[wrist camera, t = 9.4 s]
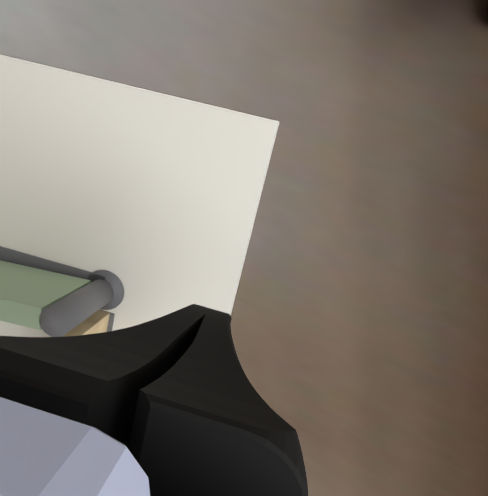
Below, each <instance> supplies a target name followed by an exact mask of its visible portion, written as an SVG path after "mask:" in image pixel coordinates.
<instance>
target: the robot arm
mask: <svg viewBox="0 0 488 496" xmlns="http://www.w3.org/2000/svg"><path fill="white" fill-rule="evenodd" d="M230 322H231V316H230V314H228V313H225V312H221V311H218V310H214V309H211V308H207V307H204V306H200V305H197V304H192V305H189V306H187V307H184V308H182V309H180V310H177V311H175V312H172V313H170V314H167V315H165V316H162V317H160V318H157V319H154V320H151V321H148V322H145V323H142V324H139V325H135V326H132V327H128V328H124V329H119V330H114V331H109V332H103V333H95V334H87V335H79V336H65V337H16V336H0V496H308V487H307V478H306V472H305V466H304V461H303V456H302V451H301V447H300V443H299V439H298V435H297V432H296V430H295V429H294V428H293V427H292V426H290V425H289V424H288V423H287V422H286V421H285V420H283V419H282V418H281V417H280V416H279V415H278V414H276V413H275V412H274V411H273V410H272V409H271V408H270V407H269V406H268V405H267V403H266V402H265V401H264V400H263V399H262V398H261V397H260V395H259V394H258V393H257V392H256V390H255V389H254V388H253V386H252V385H251V383H250V382H249V380H248V379H247V377H246V375H245V373H244V371H243V369H242V367H241V365H240V362H239V360H238V357H237V354H236V351H235V348H234V344H233V340H232V335H231V328H230Z"/></svg>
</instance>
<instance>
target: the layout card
mask: <svg viewBox="0 0 488 496" xmlns="http://www.w3.org/2000/svg"><path fill="white" fill-rule="evenodd" d="M278 126H279V121H275V120H271V119H266V118H262V117H258V116H254V115H250V114H246V113H241V112H237V111H233V110H229V109H225V108H221V107H216V106H212V105H208V104H204V103H200V102H196V101H191V100H187V99H183V98H179V97H175V96H171V95H167V94H162V93H158V92H154V91H150V90H146V89H142V88H137V87H133V86H129V85H125V84H121V83H117V82H112V81H108V80H104V79H100V78H96V77H92V76H87V75H83V74H79V73H75V72H71V71H67V70H62V69H58V68H54V67H50V66H46V65H42V64H37V63H33V62H29V61H25V60H21V59H17V58H12V57H8V56H4V55H0V260H1V261H6V262H10V263H15V264H19V265H24V266H28V267H33V268H37V269H42V270H46V271H51V272H55V273H60V274H64V275H69V276H73V277H78V278H82V279H87V280H91V282H93V281H95V280H99V279H100V280H104V281H106V282H108V283H109V284H110V285H111V287H112V289H113V293H114V295H113V298H112V300H111V301H110V302H109V303H108V304H106V305H105V306H104V307H102V308H101V309H100V310H101V311H102V310H103V311H104V312H105V311H107V313H109V312H110V314H109V320H108V327H107V332H109V331H114V330H119V329H124V328H128V327H132V326H135V325H139V324H142V323H145V322H148V321H151V320H154V319H157V318H160V317H162V316H165V315H167V314H170V313H172V312H175V311H177V310H180V309H182V308H184V307H187V306H189V305H192V304H197V305H200V306H204V307H207V308H211V309H214V310H218V311H221V312H225V313H228V314H230V316H231V312H232V308H233V304H234V300H235V296H236V292H237V288H238V285H239V281H240V277H241V273H242V269H243V265H244V261H245V257H246V253H247V249H248V245H249V241H250V237H251V233H252V229H253V225H254V221H255V217H256V213H257V209H258V205H259V201H260V197H261V193H262V190H263V186H264V182H265V178H266V174H267V170H268V166H269V162H270V158H271V154H272V150H273V146H274V142H275V138H276V134H277V130H278ZM0 336H16V337H51V336H49V335H48V334H46V333H45V332H44V331H43V330H42V329H41V330H37V329H33V328H29V327H25V326H21V325H16V324H12V323H8V322H4V321H0Z"/></svg>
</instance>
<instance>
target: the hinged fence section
mask: <svg viewBox="0 0 488 496" xmlns="http://www.w3.org/2000/svg"><path fill="white" fill-rule="evenodd" d="M113 295H114V293H113V289H112V287H111V285H110V284H109V283H108V282H106V281H104V280H100V279H99V280H95V281H93V282H91V280H87V279H82V278H78V277H73V276H69V275H64V274H60V273H55V272H51V271H46V270H42V269H37V268H33V267H28V266H24V265H19V264H15V263H10V262H6V261H1V260H0V321H4V322H8V323H12V324H16V325H21V326H25V327H29V328H33V329H37V330H41V329H42V330H43V331H44V332H45V333H46V334H48V335H49V336H52V337H62V336H64V335H65V334H66V333H68V332H69V331H71V330H72V329H73V328H75V327H76V326H77V325H79V324H80V323H82V322H83V321H84V320H86V319H87V318H88V317H90V316H91V315H93V314H94V313H95V312H97V311H98V310H99V309H101V308H102V307H104V306H105V305H106V304H108V303H109V302H110V301H111V300H112V298H113Z"/></svg>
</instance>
